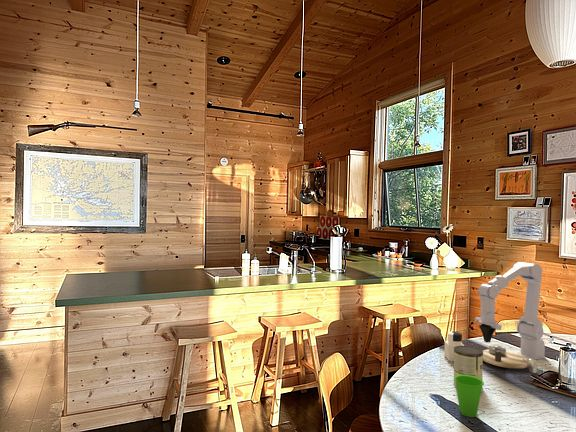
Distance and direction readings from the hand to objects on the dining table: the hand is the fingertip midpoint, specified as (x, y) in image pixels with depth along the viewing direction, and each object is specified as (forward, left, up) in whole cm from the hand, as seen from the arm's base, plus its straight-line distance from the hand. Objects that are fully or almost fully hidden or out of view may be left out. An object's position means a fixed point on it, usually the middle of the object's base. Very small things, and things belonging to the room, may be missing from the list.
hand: (487, 341), depth 183 cm
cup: (+40, +40, -10) cm, 57 cm away
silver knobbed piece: (-11, +11, -9) cm, 18 cm away
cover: (-7, -2, -6) cm, 10 cm away
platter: (-7, +2, -8) cm, 11 cm away
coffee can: (+26, +21, -10) cm, 34 cm away
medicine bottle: (+12, -7, -10) cm, 17 cm away
